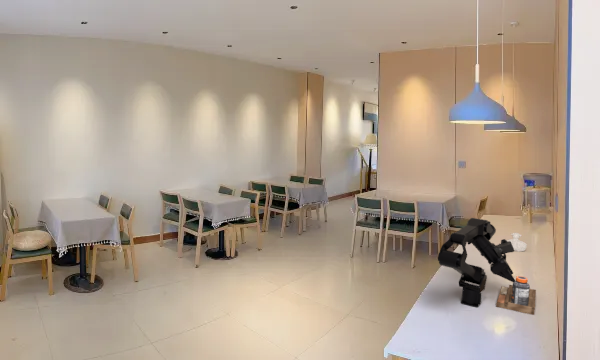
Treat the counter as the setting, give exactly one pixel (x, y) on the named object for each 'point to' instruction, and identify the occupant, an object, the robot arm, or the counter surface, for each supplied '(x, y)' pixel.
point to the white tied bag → (517, 242)
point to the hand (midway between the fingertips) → (513, 277)
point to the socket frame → (505, 303)
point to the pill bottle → (520, 291)
